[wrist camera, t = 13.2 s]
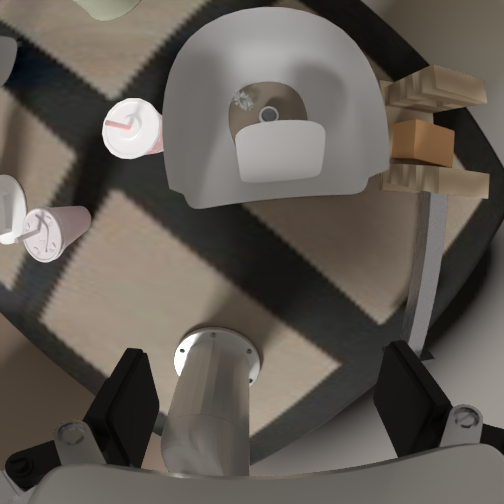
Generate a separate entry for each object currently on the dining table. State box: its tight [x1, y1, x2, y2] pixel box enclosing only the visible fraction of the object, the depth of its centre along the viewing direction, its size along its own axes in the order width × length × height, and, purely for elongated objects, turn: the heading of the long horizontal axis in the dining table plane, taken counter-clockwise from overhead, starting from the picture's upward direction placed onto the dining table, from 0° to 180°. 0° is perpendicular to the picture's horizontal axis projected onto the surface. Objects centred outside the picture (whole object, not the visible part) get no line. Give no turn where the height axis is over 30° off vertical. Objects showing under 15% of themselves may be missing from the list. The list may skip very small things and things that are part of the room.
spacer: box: [391, 119, 454, 168], centre depth 31 cm, size 4×6×6 cm
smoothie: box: [14, 206, 91, 262], centre depth 31 cm, size 6×6×14 cm
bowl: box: [162, 7, 389, 209], centre depth 29 cm, size 20×19×12 cm
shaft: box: [382, 190, 448, 365], centre depth 33 cm, size 22×6×5 cm, turn 1°
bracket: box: [378, 64, 489, 199], centre depth 29 cm, size 14×8×13 cm, turn 1°
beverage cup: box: [102, 98, 163, 159], centre depth 28 cm, size 6×6×14 cm
